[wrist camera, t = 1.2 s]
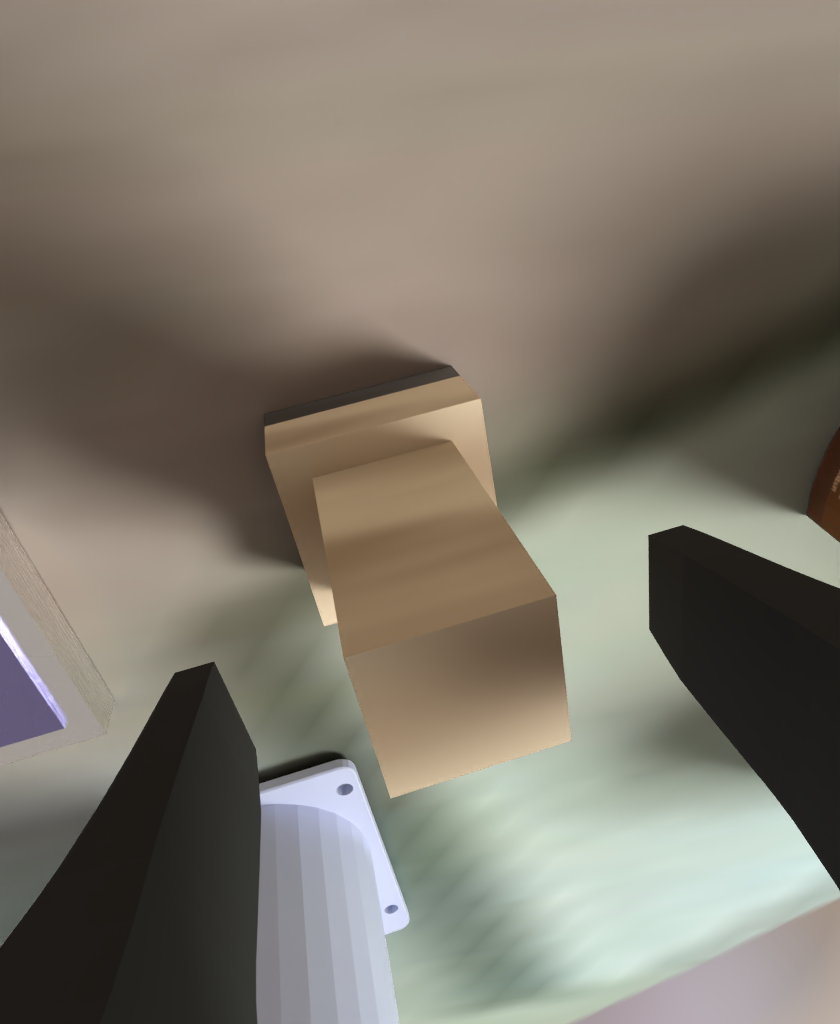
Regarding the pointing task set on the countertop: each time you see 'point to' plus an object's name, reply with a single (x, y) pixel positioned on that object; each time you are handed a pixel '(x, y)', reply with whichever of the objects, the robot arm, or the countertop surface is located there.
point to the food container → (827, 491)
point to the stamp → (422, 577)
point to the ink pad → (41, 666)
